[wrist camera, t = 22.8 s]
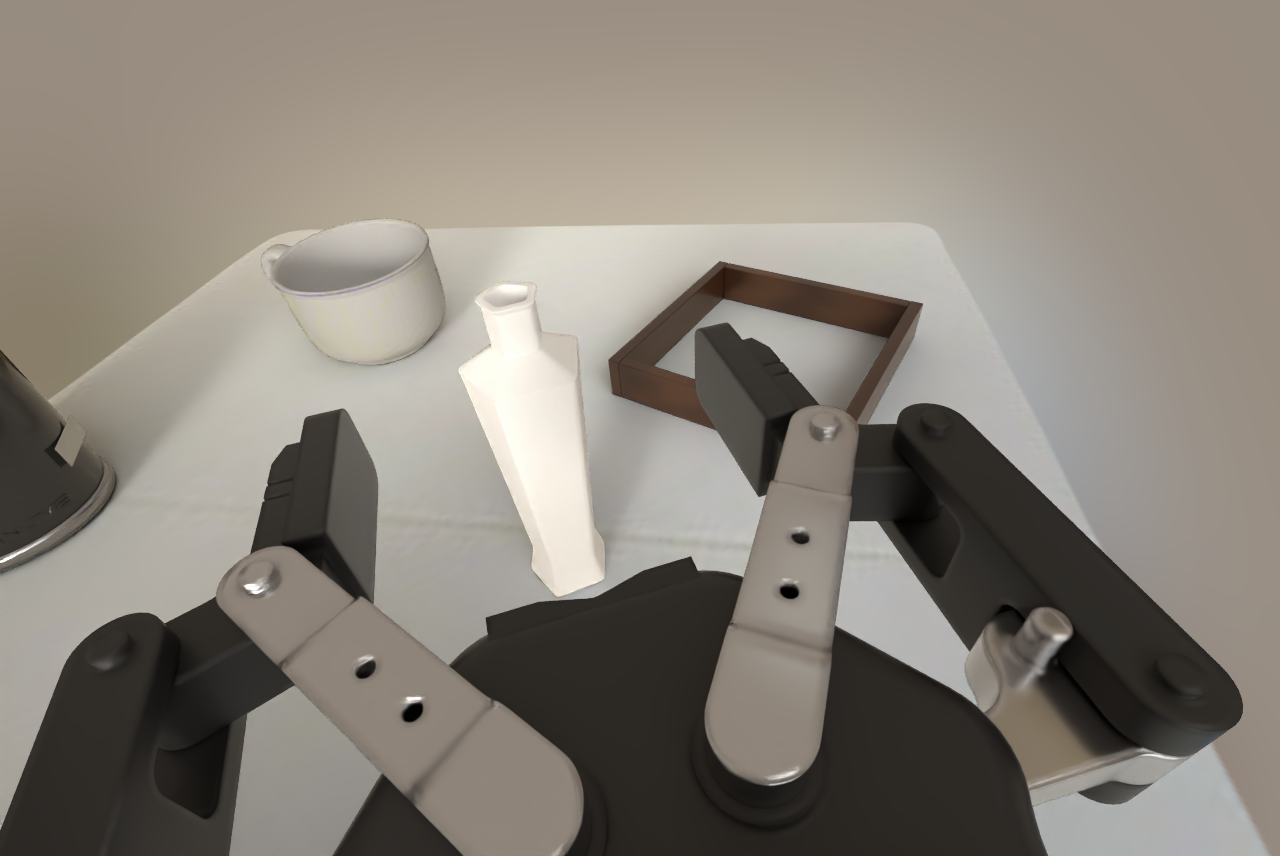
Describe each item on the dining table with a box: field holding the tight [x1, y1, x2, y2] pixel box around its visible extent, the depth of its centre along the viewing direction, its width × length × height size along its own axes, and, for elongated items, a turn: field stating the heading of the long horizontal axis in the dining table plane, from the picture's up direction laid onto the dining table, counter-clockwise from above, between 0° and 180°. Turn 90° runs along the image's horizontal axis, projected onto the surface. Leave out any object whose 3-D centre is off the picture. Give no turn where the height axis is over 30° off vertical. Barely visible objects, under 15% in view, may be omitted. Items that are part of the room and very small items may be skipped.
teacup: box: [261, 218, 445, 365], centre depth 45 cm, size 14×11×8 cm
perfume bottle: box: [458, 281, 605, 597], centre depth 25 cm, size 5×4×15 cm
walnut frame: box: [608, 261, 923, 430], centre depth 41 cm, size 16×16×3 cm
